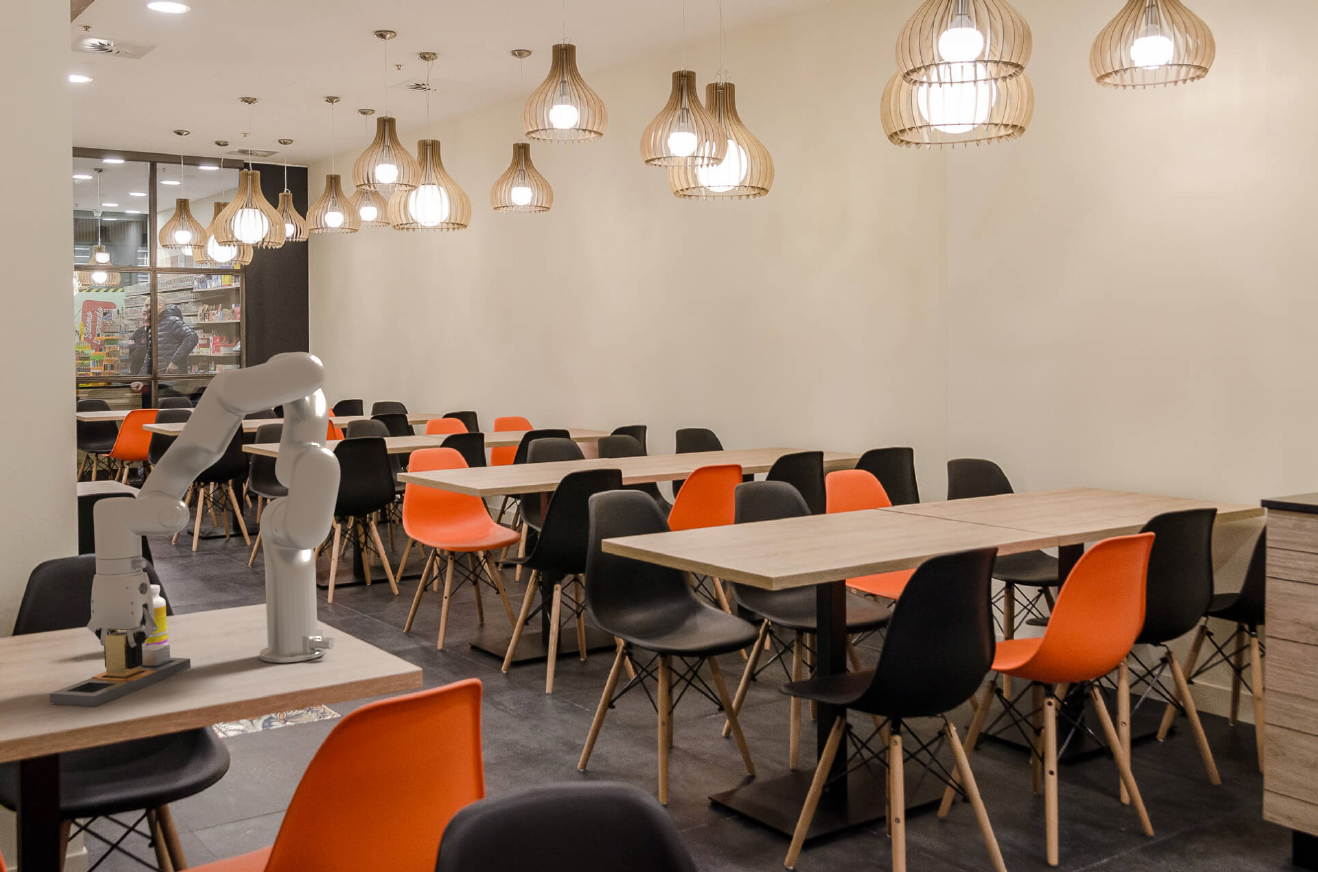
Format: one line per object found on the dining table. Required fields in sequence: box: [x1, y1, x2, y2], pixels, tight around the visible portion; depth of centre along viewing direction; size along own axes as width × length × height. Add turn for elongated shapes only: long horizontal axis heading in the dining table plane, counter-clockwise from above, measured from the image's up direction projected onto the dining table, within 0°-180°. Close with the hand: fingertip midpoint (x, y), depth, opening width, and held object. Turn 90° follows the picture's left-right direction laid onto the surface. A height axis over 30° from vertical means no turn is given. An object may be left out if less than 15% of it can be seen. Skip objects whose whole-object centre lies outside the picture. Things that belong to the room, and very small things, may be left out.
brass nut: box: [105, 630, 141, 679], centre depth 198 cm, size 4×4×8 cm
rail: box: [49, 657, 192, 708], centre depth 198 cm, size 9×25×2 cm, turn 167°
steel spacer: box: [141, 644, 171, 668], centre depth 205 cm, size 4×4×5 cm
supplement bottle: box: [142, 584, 169, 647], centre depth 225 cm, size 7×7×13 cm
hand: (123, 665), depth 198 cm, fingers closed on brass nut, 4 cm apart
